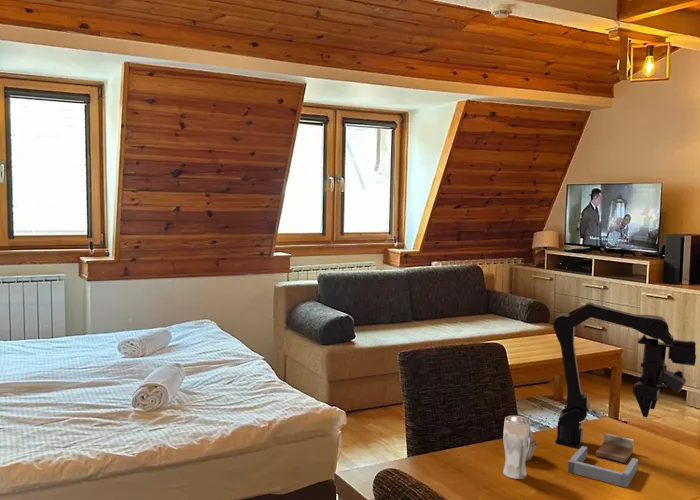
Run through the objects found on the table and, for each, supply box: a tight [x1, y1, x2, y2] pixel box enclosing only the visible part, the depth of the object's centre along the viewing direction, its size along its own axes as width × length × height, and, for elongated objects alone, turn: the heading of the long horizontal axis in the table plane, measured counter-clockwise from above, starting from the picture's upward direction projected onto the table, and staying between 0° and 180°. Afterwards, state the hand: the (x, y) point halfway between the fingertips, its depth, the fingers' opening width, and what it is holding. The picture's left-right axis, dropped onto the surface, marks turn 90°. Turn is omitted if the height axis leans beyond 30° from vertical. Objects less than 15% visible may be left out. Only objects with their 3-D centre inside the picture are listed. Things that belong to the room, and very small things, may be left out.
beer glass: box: [502, 415, 531, 480], centre depth 167 cm, size 7×7×15 cm
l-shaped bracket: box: [595, 433, 635, 464], centre depth 182 cm, size 8×10×4 cm
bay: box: [567, 445, 639, 488], centre depth 171 cm, size 15×14×3 cm
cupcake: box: [526, 429, 538, 462], centre depth 179 cm, size 9×9×10 cm
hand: (648, 412), depth 181 cm, fingers open, 9 cm apart
